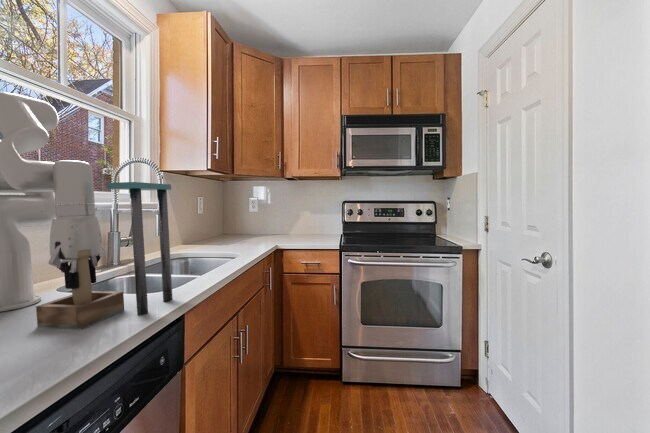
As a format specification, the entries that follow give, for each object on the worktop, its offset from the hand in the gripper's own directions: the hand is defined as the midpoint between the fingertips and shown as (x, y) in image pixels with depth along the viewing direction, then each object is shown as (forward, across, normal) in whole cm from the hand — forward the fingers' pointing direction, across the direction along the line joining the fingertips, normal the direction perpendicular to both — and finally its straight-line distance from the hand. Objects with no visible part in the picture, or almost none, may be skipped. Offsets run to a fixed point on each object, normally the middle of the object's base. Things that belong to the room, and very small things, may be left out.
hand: (81, 284), depth 76 cm
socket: (+8, 0, 0) cm, 8 cm away
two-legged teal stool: (+8, -9, +11) cm, 16 cm away
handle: (+6, 0, 0) cm, 6 cm away
